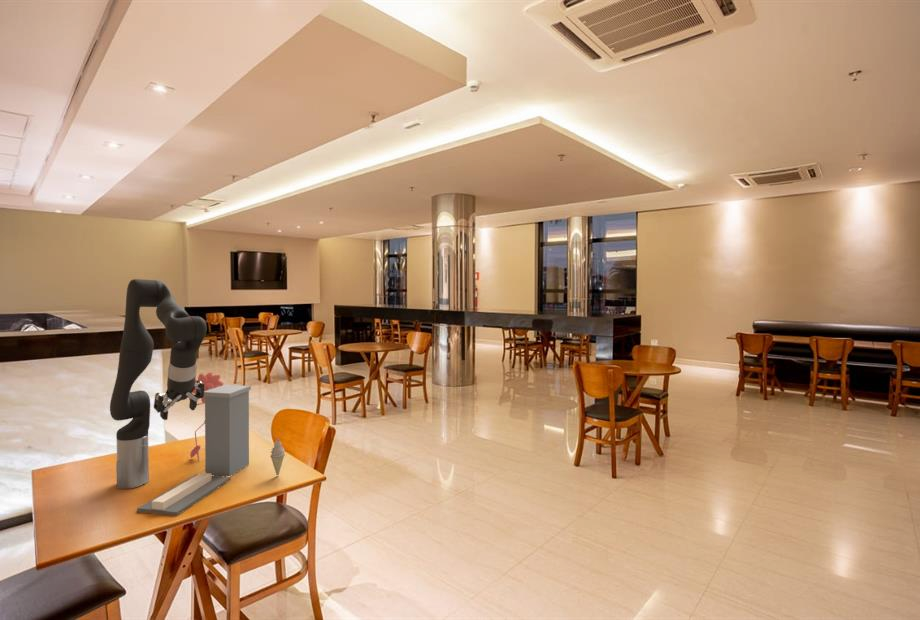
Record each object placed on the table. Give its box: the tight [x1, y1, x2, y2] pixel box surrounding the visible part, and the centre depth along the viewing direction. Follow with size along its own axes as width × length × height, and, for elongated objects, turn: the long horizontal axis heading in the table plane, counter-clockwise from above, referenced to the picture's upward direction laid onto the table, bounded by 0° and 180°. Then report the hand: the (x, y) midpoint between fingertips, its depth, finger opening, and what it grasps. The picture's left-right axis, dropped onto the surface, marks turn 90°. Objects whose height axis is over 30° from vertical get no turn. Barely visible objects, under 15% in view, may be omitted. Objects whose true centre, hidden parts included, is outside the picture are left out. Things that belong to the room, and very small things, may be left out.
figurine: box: [170, 371, 224, 462], centre depth 190 cm, size 15×26×35 cm, turn 130°
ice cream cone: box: [270, 437, 286, 476], centre depth 170 cm, size 5×5×15 cm
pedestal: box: [204, 384, 252, 477], centre depth 174 cm, size 13×11×32 cm
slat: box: [152, 472, 211, 510], centre depth 152 cm, size 22×4×2 cm, turn 172°
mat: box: [136, 473, 231, 517], centre depth 154 cm, size 26×14×1 cm, turn 172°
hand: (178, 413), depth 147 cm, fingers open, 8 cm apart
